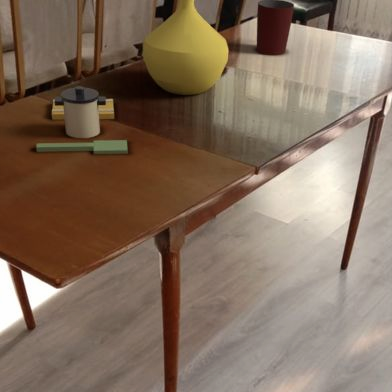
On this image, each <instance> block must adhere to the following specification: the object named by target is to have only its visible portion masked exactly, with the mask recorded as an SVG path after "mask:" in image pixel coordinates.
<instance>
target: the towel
mask: <svg viewBox="0 0 392 392" xmlns="http://www.w3.org/2000/svg"><path fill="white" fill-rule="evenodd" d="M54 101H55V98H53V100H52V109H51V119H52V120H65V119H64V109H63V106H55V102H54ZM98 107H99V120H115V109H114V98H106V105H98Z"/></svg>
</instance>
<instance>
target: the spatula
mask: <svg viewBox="0 0 392 392" xmlns="http://www.w3.org/2000/svg"><path fill="white" fill-rule="evenodd" d="M35 149H36V152H37V153H42V152H43V153H44V152H46V153H47V152H93V155H114V154H115V155H120V154H121V155H123V154H124V155H126V154H129V151H128V140H127V139H106V140H105V139H104V140H102V139H100V140H99V139H98V140H93V142H47V143H46V142H45V143H44V142H43V143H40V142H39V143H36V146H35Z"/></svg>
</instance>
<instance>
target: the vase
mask: <svg viewBox="0 0 392 392" xmlns="http://www.w3.org/2000/svg"><path fill="white" fill-rule="evenodd" d="M142 59H143V61H144V64H145V66H146V69H147V71H148V74H149V76H150V77H151V78H152V79H153V80H154V82H155V84H156V85H157V86H159V87H160V88H161V89H162V90H163V91H165V92H167V93H170V94H174V95H181V96H192V95H199V94H203V93H204V92H206V91H208V90H209V89H210V88H212V87H213V86H214V85H215V84H216V83H217V81H219V79H221V76H222V74H223V72H224V69H225V68H226V65H227V63H228V60H229V46H228V42H227V40H226V38H225V37H224V36H222V35H221V34H220V33H219V31H217V30H216V29H215V28H214V27H212V26H211V25H210V24H209V23H208V22H207V21H206V20H205V18H203V16H201V15H200V14H199V12H198V11H197V9H196V7H195V0H179V4H178V7H177V9H176V10H175V11H174V13H172V14H171V15H170V16H169V17H168V18H167V19H166V20H165V21H163V22H162V23H161V24H160V25H158V26H157V27H155V29H154V30H152V31H151V32H150V33H149V34H147V35H146V36H145V38H144V41H143V44H142Z"/></svg>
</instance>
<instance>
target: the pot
mask: <svg viewBox="0 0 392 392" xmlns="http://www.w3.org/2000/svg"><path fill="white" fill-rule="evenodd" d="M54 99H55V101H54V102H55V106H63V109H64V119H63V120H64V127H65V128H64V129H65V134H66V135H67V136H69V137H70V138H71V137H72V138H75V139H90V138H93V137H96V136H98V135H99V134H100V133H101V124H100V123H101V122H100V119H99V107H98V105H106V99H107V97H106V96H100V94H99V92H98V91H97V89H93V88H89V87H84V86H81V85H78V86H77V85H76V86H75V87H70V88H67V89H65V90H62V91H61V93H60V96H54Z"/></svg>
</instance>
